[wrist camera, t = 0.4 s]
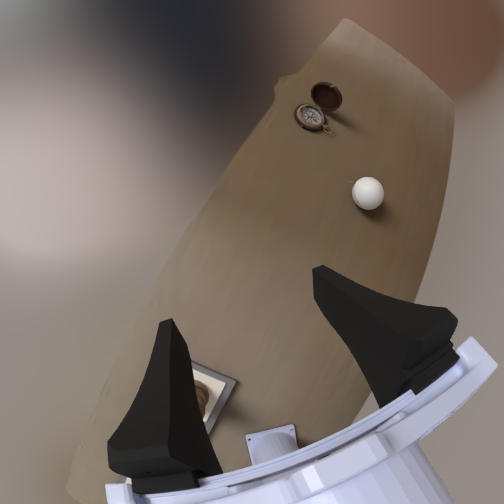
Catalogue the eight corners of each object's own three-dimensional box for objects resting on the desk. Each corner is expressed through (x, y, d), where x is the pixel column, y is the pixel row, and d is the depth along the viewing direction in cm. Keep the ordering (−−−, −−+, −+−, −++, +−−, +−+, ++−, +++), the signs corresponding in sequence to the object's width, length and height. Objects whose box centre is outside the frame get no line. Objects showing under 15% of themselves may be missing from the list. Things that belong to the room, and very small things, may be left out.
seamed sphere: (376, 195, 46) (394, 185, 41) (366, 219, 45) (384, 211, 40) (344, 170, 46) (359, 157, 40) (332, 194, 45) (346, 182, 39)
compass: (287, 118, 46) (298, 94, 39) (308, 97, 48) (320, 74, 40) (322, 144, 46) (338, 123, 39) (340, 121, 48) (357, 101, 41)
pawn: (212, 405, 36) (213, 433, 27) (180, 409, 35) (174, 437, 26) (205, 377, 36) (204, 399, 27) (173, 381, 35) (163, 404, 27)
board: (164, 507, 32) (164, 511, 30) (115, 487, 31) (113, 491, 30) (235, 379, 38) (236, 382, 37) (173, 351, 37) (172, 353, 36)
